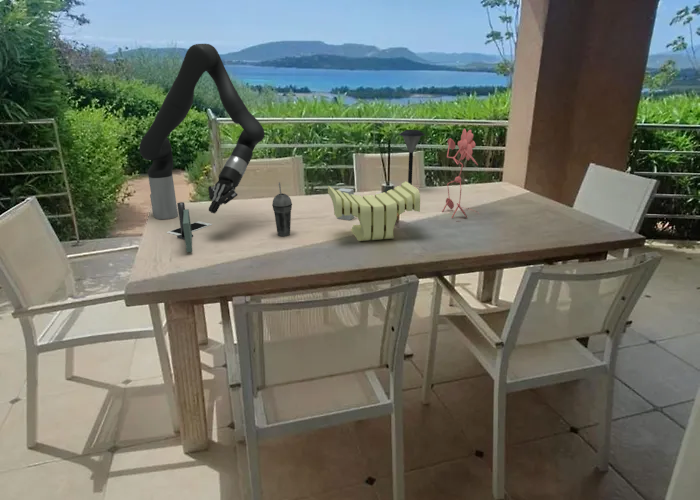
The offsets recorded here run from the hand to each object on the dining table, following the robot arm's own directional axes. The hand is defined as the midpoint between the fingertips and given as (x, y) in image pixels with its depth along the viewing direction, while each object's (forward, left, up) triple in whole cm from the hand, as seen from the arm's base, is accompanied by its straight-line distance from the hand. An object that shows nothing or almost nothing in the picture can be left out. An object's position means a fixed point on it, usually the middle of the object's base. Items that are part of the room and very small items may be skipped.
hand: (211, 212), depth 172 cm
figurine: (+65, +77, -11) cm, 102 cm away
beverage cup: (+17, +18, -11) cm, 27 cm away
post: (-12, -3, -11) cm, 17 cm away
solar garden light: (+32, +97, -11) cm, 103 cm away
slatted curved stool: (+46, +34, -11) cm, 58 cm away
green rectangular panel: (-4, -8, -10) cm, 13 cm away
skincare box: (+26, +47, -11) cm, 55 cm away
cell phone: (-19, +5, -11) cm, 23 cm away
